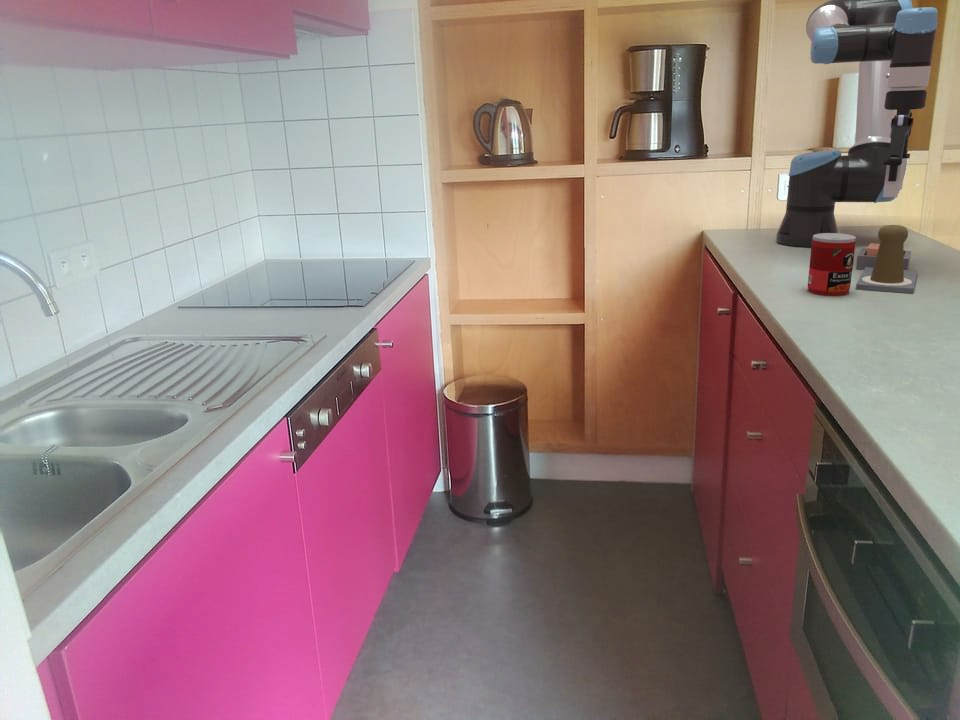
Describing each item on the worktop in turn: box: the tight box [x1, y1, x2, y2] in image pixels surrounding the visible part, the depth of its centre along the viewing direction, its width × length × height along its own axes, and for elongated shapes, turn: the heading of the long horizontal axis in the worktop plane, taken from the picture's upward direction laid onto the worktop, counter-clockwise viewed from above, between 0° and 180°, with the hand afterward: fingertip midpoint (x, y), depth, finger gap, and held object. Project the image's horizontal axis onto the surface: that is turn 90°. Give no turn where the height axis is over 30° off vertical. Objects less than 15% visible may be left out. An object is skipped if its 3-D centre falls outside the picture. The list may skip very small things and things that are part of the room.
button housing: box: [855, 247, 912, 271], centre depth 171 cm, size 10×10×3 cm
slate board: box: [855, 267, 919, 294], centre depth 157 cm, size 18×10×1 cm, turn 149°
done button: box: [866, 242, 880, 256], centre depth 170 cm, size 7×7×3 cm
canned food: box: [807, 232, 857, 297], centre depth 150 cm, size 8×8×11 cm
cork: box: [870, 224, 909, 284], centre depth 152 cm, size 6×6×11 cm
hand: (892, 193), depth 166 cm, fingers open, 13 cm apart
